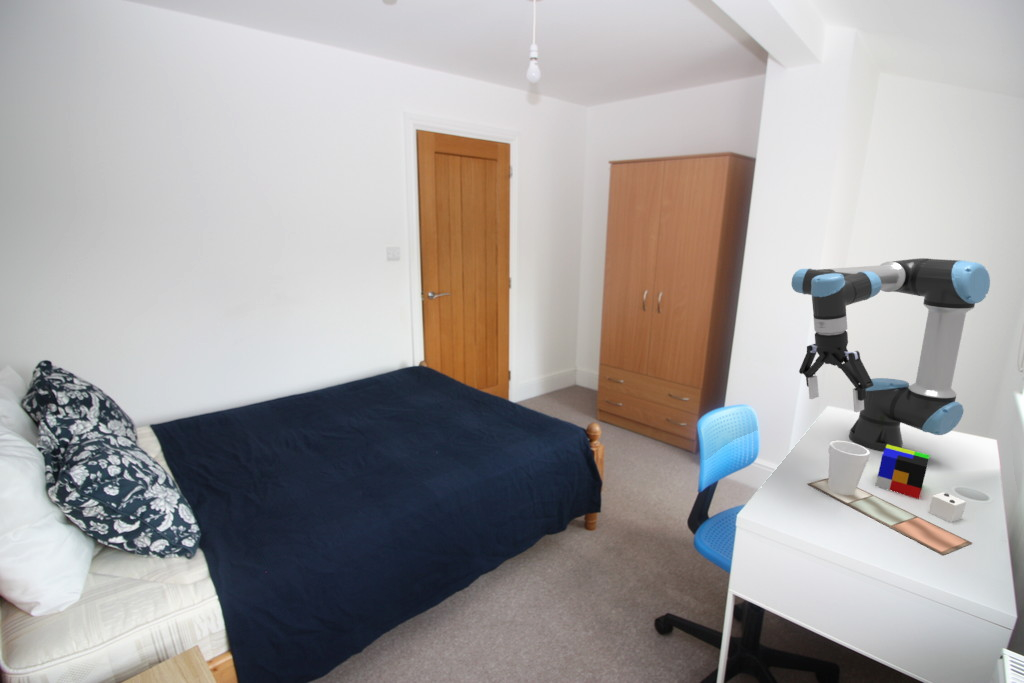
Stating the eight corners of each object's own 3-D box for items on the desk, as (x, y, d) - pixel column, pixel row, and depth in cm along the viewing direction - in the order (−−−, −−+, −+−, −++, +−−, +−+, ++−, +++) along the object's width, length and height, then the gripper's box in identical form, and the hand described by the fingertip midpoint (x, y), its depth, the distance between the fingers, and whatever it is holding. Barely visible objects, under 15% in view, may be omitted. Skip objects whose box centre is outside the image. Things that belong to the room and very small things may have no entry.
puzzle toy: (875, 486, 144) (882, 454, 142) (880, 474, 151) (886, 444, 149) (918, 499, 138) (926, 466, 135) (922, 486, 145) (929, 455, 142)
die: (939, 508, 133) (944, 490, 132) (961, 518, 129) (966, 499, 127) (928, 512, 131) (933, 493, 130) (950, 522, 127) (955, 503, 125)
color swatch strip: (834, 476, 149) (834, 476, 149) (972, 543, 118) (972, 542, 118) (807, 484, 144) (807, 483, 144) (943, 555, 114) (943, 554, 114)
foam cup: (821, 478, 147) (829, 438, 144) (859, 486, 143) (867, 445, 140) (822, 492, 139) (830, 450, 136) (861, 502, 135) (871, 458, 132)
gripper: (781, 329, 144) (788, 396, 149) (865, 341, 121) (869, 421, 125) (801, 322, 146) (807, 389, 151) (887, 333, 123) (891, 412, 127)
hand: (835, 403), depth 138 cm, fingers open, 13 cm apart
